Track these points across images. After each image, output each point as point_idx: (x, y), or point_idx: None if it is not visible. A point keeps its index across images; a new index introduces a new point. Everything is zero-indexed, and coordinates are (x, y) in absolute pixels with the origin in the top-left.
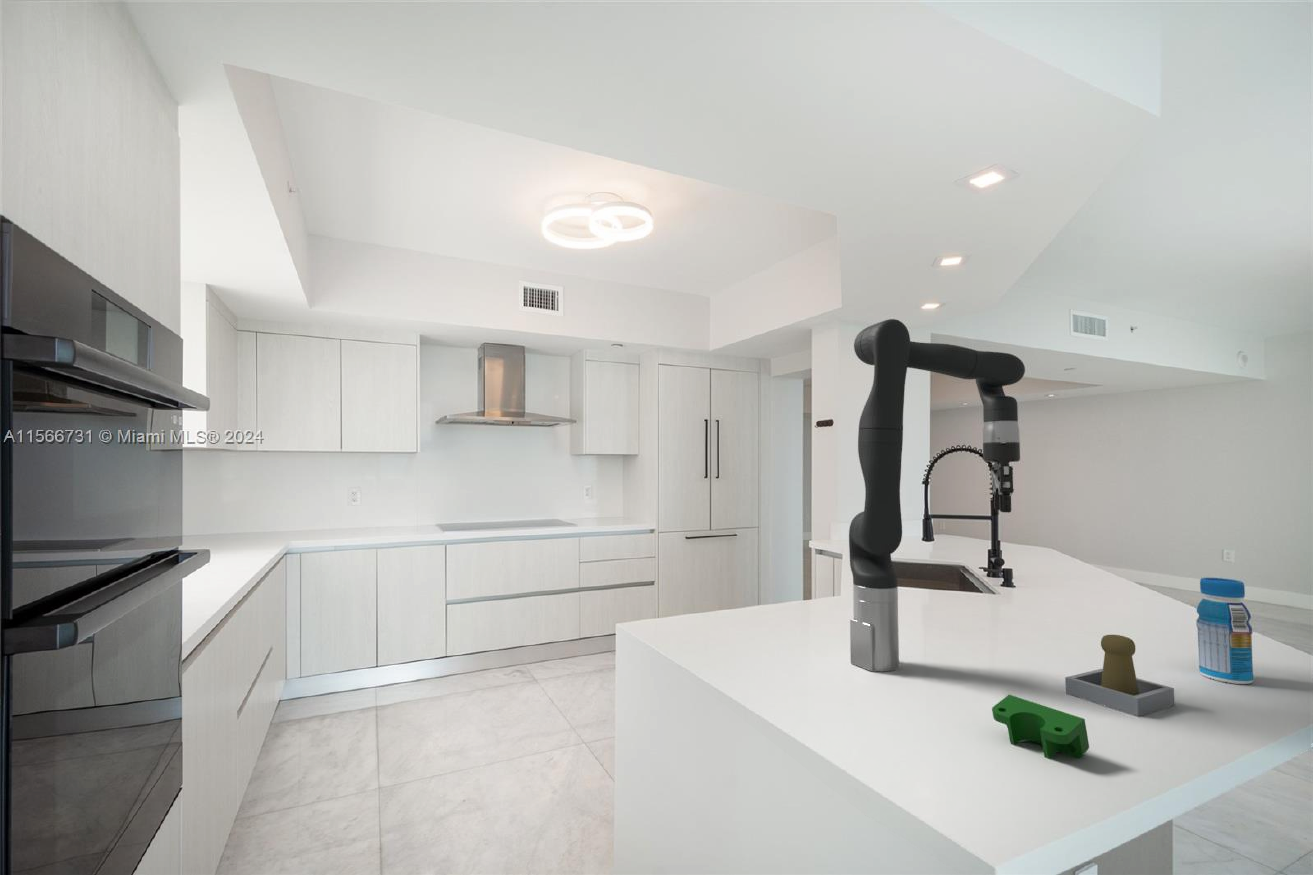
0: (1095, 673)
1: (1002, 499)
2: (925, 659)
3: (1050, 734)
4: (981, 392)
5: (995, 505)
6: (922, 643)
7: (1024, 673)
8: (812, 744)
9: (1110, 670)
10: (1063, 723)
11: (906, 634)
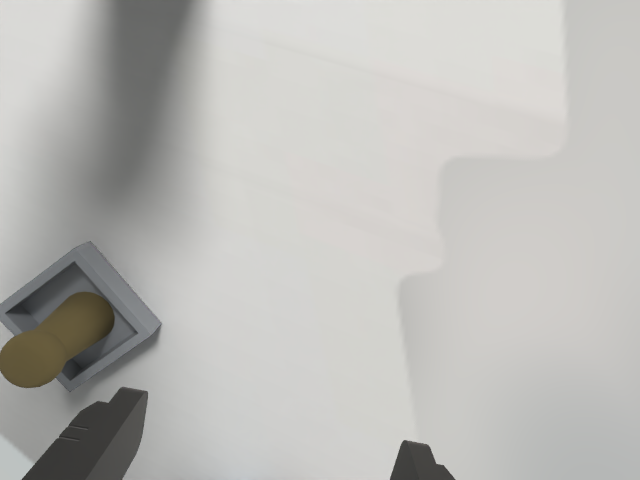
0: (120, 312)
1: (36, 463)
2: (241, 36)
3: None
4: None
5: (410, 462)
6: (374, 66)
7: (190, 215)
8: None
9: (46, 318)
10: None
11: (454, 47)
